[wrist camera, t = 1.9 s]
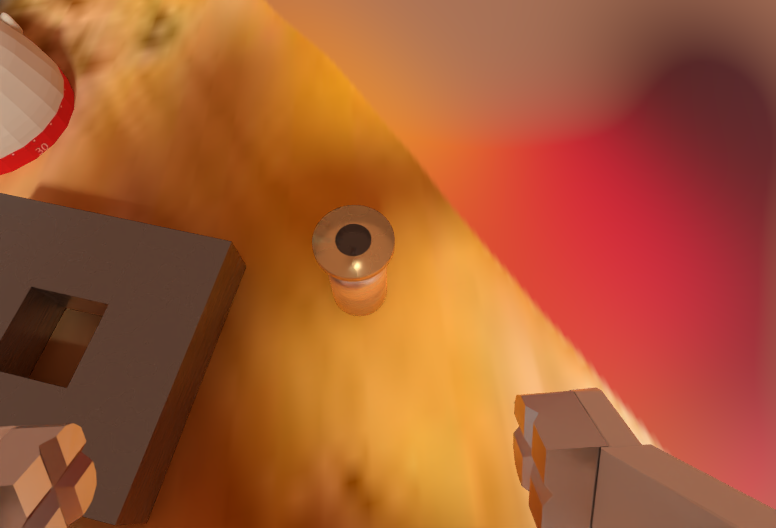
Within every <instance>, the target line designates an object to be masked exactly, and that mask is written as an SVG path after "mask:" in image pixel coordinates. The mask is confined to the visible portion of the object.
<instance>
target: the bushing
mask: <svg viewBox="0 0 776 528" xmlns="http://www.w3.org/2000/svg"><path fill="white" fill-rule="evenodd" d="M394 240H395V238H394V232H393V229H392V227H391V225H390V223H389V221H388V220H387V219H386V218H385V217H384V216H383V215H382V214H381V213H379V212H378V211H376V210H374V209H372V208H369V207H366V206H361V205H348V206H343V207H340V208H337V209H335V210H333V211H331V212H329V213H328V214H327V215H325V216H324V217H323V218H322V219H321V220H320V222H319V223H318V224H317V226H316V228H315V230H314V233H313V238H312V247H313V252H314V255H315V258H316V260H317V262H318V264H319V266H320V267H321V268H322V269H323V270H324V271H325V272H326V273H327V274H328V276H329V280H330V284H331V288H332V292H333V296H334V299H335V302H336V303H337V305H338V306H339V307H340V309H342V310H343V311H344V312H346V313H348V314H350V315H355V316H364V315H368V314H371V313H373V312H375V311H376V310H377V309H379V308H380V307H381V305H382V304H383V302H384V300H385V298H386V294H387V265H388V264H389V262H390V260H391V258H392V256H393V253H394Z"/></svg>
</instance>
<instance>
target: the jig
mask: <svg viewBox="0 0 776 528" xmlns="http://www.w3.org/2000/svg"><path fill="white" fill-rule="evenodd" d="M245 268H246V265H245V263H244V262H243V260H242V258H241V257H240V255H239V253H238V252H237V250H236V248H235V247H234V245H233V243H232V242H231V241H226V240H222V239H217V238H212V237H207V236H203V235H198V234H193V233H188V232H184V231H179V230H174V229H169V228H165V227H160V226H155V225H150V224H145V223H141V222H136V221H131V220H126V219H122V218H117V217H112V216H107V215H103V214H98V213H93V212H88V211H84V210H79V209H74V208H69V207H64V206H60V205H55V204H50V203H45V202H41V201H36V200H31V199H26V198H22V197H17V196H12V195H7V194H3V193H0V427H2V426H21V425H40V424H63V423H74V424H76V425H78V426H80V427H81V428H82V431H83V433H84V436H85V439H86V443H85V445H84V447H83V449H82V451H81V452H83V453H84V454H85V455H86V456H87V457H89V458H90V459H91V460H92V461H93V463H94V466H95V470H96V481H97V485H96V489H95V492H94V496H93V500H92V502H91V504H90V505H89V507H88V509H87V510H86V512H85V513H84V515H83V517H86V518H90V519H94V520H97V521H101V522H105V523H108V524H112V525H127V524H142V523H147V520H148V518H149V515H150V513H151V510H152V508H153V505H154V502H155V500H156V497H157V495H158V492H159V489H160V487H161V484H162V482H163V479H164V477H165V474H166V471H167V469H168V466H169V464H170V461H171V459H172V456H173V453H174V451H175V448H176V446H177V443H178V440H179V438H180V435H181V433H182V430H183V428H184V425H185V422H186V420H187V417H188V415H189V412H190V410H191V407H192V404H193V402H194V399H195V397H196V394H197V391H198V389H199V386H200V384H201V381H202V379H203V376H204V373H205V371H206V368H207V366H208V363H209V361H210V358H211V355H212V353H213V350H214V348H215V345H216V342H217V340H218V337H219V335H220V332H221V330H222V327H223V324H224V322H225V319H226V317H227V314H228V312H229V309H230V306H231V304H232V301H233V299H234V296H235V293H236V291H237V288H238V286H239V283H240V281H241V278H242V275H243V273H244V270H245ZM65 308H69V309H73V310H77V311H82V312H86V313H90V314H95V315H99V316H103V317H102V319H101V321H100V323H99V325H98V327H97V329H96V331H95V333H94V335H93V337H92V339H91V341H90V343H89V345H88V347H87V349H86V351H85V353H84V355H83V357H82V359H81V361H80V363H79V365H78V367H77V369H76V371H75V373H74V375H73V377H72V379H71V381H70V383H69V385H68V387H67V388H64V387H60V386H56V385H52V384H48V383H44V382H40V381H36V380H32V379H28V377H29V375H30V373H31V372H32V370H33V368H34V366H35V364H36V362H37V360H38V359H39V357H40V355H41V353H42V351H43V349H44V347H45V345H46V344H47V342H48V340H49V338H50V336H51V334H52V332H53V331H54V329H55V327H56V325H57V323H58V321H59V319H60V317H61V316H62V314H63V312H64V310H65Z"/></svg>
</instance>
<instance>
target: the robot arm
mask: <svg viewBox="0 0 776 528" xmlns="http://www.w3.org/2000/svg"><path fill="white" fill-rule="evenodd" d="M514 414H515V417H516V419H517V422H518V424H519V427H518V429H517V430H516V431H515V432H514V434H513V449H514V458H515V465H516V469H517V473H518V477H519V480H520V482H521V485H522V486H523V487H524V488H525V489H527V490H528V491H529V507H530V510H531V513H532V515H533V518H534V521H535V523H536V526H537V528H776V510H775V509H772V508H771V507H769V506H767V505H765V504H763V503H761V502H760V501H758V500H756V499H754V498H752V497H750V496H748V495H746V494H744V493H742V492H740V491H738V490H736V489H734V488H733V487H731V486H729V485H727V484H725V483H723V482H721V481H719V480H717V479H716V478H714V477H712V476H710V475H708V474H706V473H704V472H702V471H700V470H698V469H696V468H694V467H692V466H691V465H689V464H687V463H685V462H683V461H681V460H679V459H677V458H675V457H673V456H671V455H670V454H668V453H666V452H664V451H662V450H660V449H658V448H656V447H654V446H652V445H642V444H641V443H640V442H639V440H638V439H637V438H636V436H635V435H634V434H633V432H632V431H631V430H630V428H629V427H628V426H627V424H626V423H625V422H624V420H623V419H622V417H621V416H620V415H619V413H618V412H617V411H616V409H615V408H614V407H613V405H612V404H611V403H610V401H609V400H608V399H607V397H606V396H605V395H604V393H603V392H602V391H601V390H600V389H598V388H588V389H577V390H570V391H563V392H550V393H536V394H523V395H516V399H515V409H514ZM85 443H86V439H85V436H84V433H83V431H82V428H81V427H80V426H78V425H76V424H74V423H63V424H40V425H21V426H2V427H0V528H68V526H69V525H70V524H71V523H73V522H74V521H76V520H77V519H78V518H80V517H81V516H83V515H84V513H85V512H86V510H87V509H88V507H89V505H90V504H91V502H92V500H93V496H94V492H95V489H96V485H97V481H96V470H95V466H94V463H93V461H92V460H91V459H90V458H89V457H87V456H86V455H85V454H84V453H83V452H81V451H82V449H83V447H84V445H85Z"/></svg>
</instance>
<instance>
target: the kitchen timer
mask: <svg viewBox="0 0 776 528" xmlns="http://www.w3.org/2000/svg"><path fill="white" fill-rule="evenodd" d="M73 110H74V92H73V90H72V88H71V85H70V83H69V81H68V79H67V78H66V76H65V75H64V74H63V72H62V71H61V70H60V68H59V67H58V66H57V65H56V63H55V62H54V61H53V60H52V59H51V58H50V57H49V56H47V55H46V54H45V53H44V52H43V51H42V50H41V49H40V48H39V47H38V46H36V45H35V44H34V43H33V42H32V41H31V40H29V39H28V38H27V37H26V36H24V35H23V30H22V28H21V27H20V26H19V25H18V24H17V23H16V22H15V21H14V20H13V19H12V18H11V17H10V16H9V15H8V14H7V13H4V12H2V13H1V14H0V175H2V174H5V173H8V172H12V171H14V170H16V169H18V168H20V167H22V166H24V165H25V164H27V163H29V162H31V161H33V160H35V159H36V158H38V157H39V156H40V155H41V154H42V153H44V152H45V151H46V150H47V149H48V148H50V147H51V146H52V145H53V144H54V143H55V142H56V141H57V139H58V138H59V137H60V135H61V134H62V133H63V131H64V130H65V129H66V128H67V126H68V123H69V121H70V118H71V115H72V113H73Z"/></svg>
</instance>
